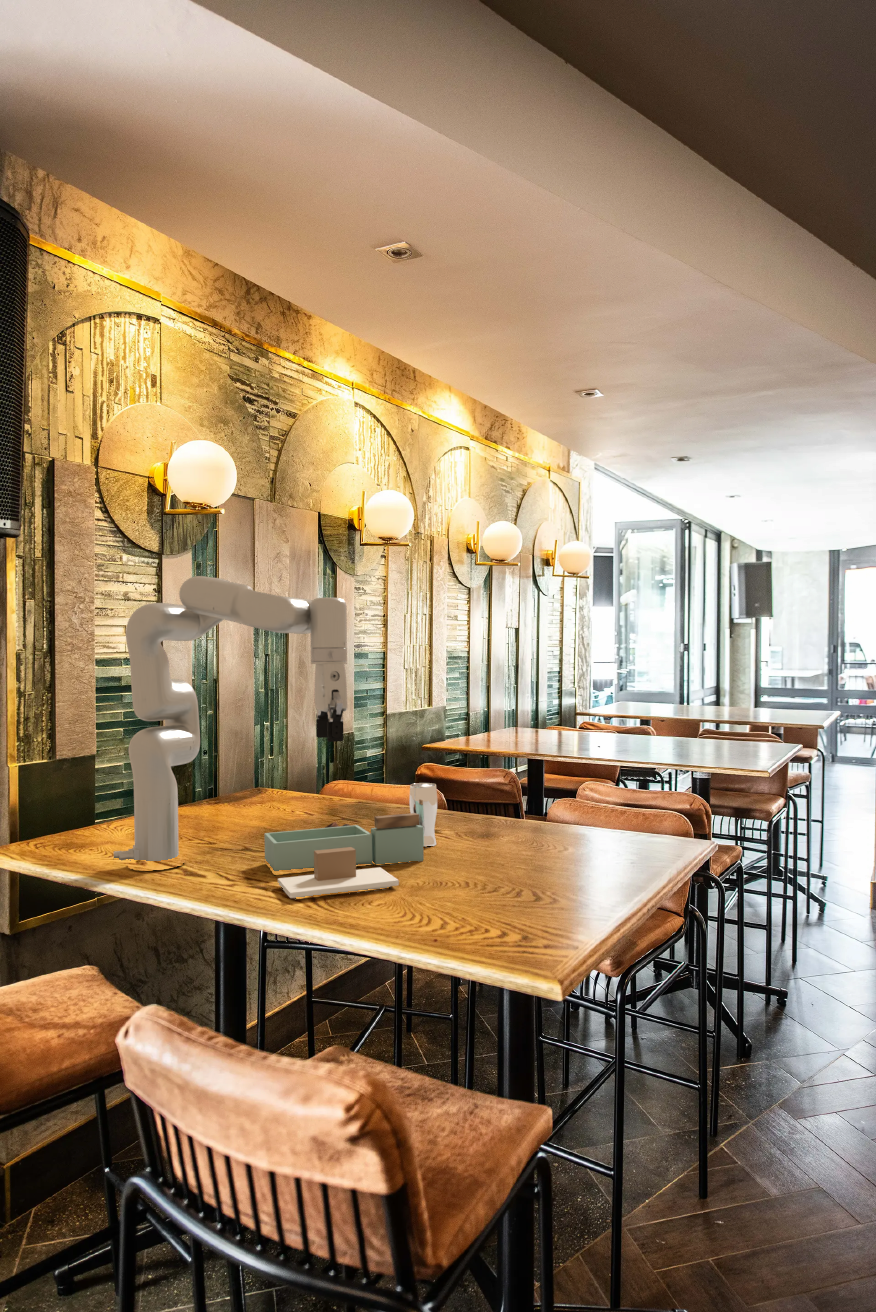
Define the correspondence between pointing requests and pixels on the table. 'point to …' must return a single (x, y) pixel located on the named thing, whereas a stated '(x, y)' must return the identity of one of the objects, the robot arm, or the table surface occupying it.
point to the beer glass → (425, 809)
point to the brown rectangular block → (396, 820)
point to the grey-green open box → (344, 845)
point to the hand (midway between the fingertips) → (329, 739)
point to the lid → (336, 875)
